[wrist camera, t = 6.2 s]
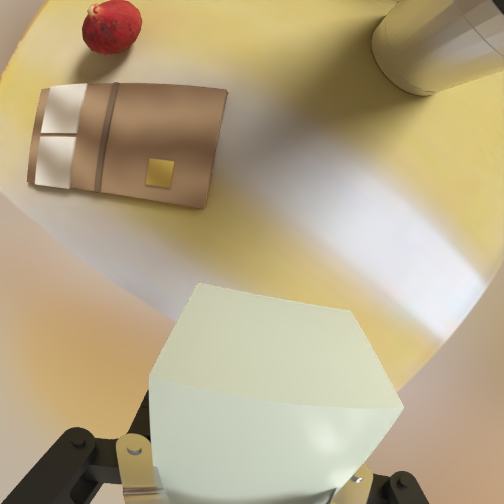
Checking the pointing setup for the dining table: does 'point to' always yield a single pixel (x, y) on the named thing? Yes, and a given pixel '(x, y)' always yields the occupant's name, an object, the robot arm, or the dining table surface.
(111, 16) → the onion
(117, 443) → the robot arm
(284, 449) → the block
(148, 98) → the board
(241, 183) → the dining table surface
